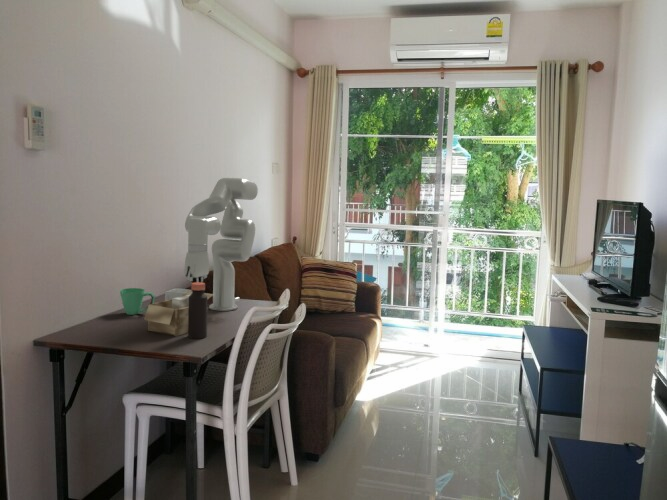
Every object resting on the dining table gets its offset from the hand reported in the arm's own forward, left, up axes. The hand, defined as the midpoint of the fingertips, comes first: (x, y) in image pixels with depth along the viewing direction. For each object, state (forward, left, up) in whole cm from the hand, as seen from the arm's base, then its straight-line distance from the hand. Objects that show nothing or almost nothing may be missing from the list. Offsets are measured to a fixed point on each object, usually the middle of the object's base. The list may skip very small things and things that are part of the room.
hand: (197, 293), depth 224 cm
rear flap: (0, 0, -1) cm, 1 cm away
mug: (+3, -30, -12) cm, 33 cm away
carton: (+12, 0, -12) cm, 17 cm away
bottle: (+15, +13, -12) cm, 24 cm away
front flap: (+21, 0, -5) cm, 22 cm away
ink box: (-2, -12, -12) cm, 17 cm away
